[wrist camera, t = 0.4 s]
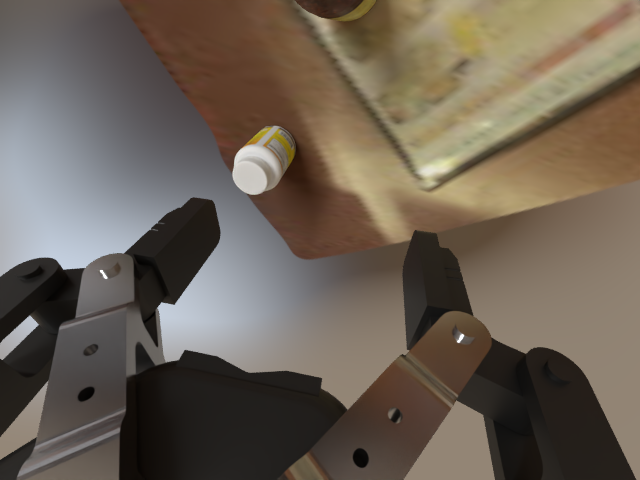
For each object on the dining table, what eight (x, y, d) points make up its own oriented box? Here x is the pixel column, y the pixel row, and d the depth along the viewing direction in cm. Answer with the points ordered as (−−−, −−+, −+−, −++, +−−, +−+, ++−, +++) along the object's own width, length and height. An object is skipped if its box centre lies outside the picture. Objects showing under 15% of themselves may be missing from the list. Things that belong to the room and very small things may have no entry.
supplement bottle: (255, 157, 40) (223, 192, 33) (260, 118, 37) (225, 146, 29) (292, 170, 41) (270, 207, 33) (301, 132, 37) (278, 163, 29)
